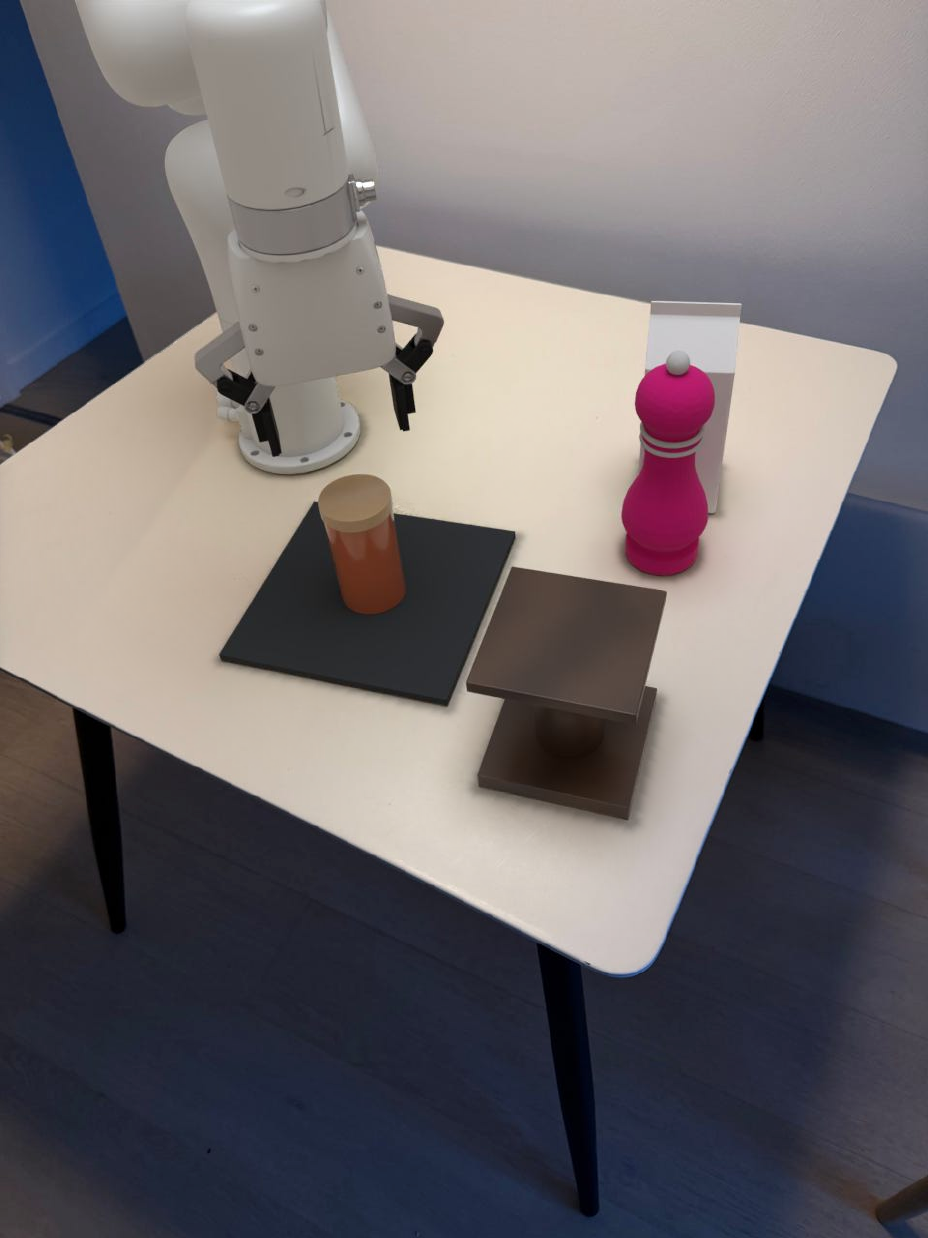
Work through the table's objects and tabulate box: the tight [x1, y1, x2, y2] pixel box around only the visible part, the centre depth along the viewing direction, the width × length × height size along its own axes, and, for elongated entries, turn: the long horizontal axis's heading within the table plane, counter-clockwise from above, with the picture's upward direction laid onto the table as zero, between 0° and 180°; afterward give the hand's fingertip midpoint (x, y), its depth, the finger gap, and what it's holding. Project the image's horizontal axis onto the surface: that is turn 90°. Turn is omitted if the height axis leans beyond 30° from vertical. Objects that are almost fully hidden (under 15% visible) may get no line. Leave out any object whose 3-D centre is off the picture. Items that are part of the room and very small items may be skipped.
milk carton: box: [638, 300, 743, 514], centre depth 86 cm, size 7×7×19 cm
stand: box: [465, 566, 668, 820], centre depth 70 cm, size 11×11×12 cm
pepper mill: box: [620, 351, 715, 576], centre depth 80 cm, size 7×7×20 cm
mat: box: [218, 500, 517, 707], centre depth 86 cm, size 20×20×1 cm
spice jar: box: [317, 473, 406, 615], centre depth 82 cm, size 6×6×11 cm
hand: (339, 432), depth 74 cm, fingers open, 9 cm apart
